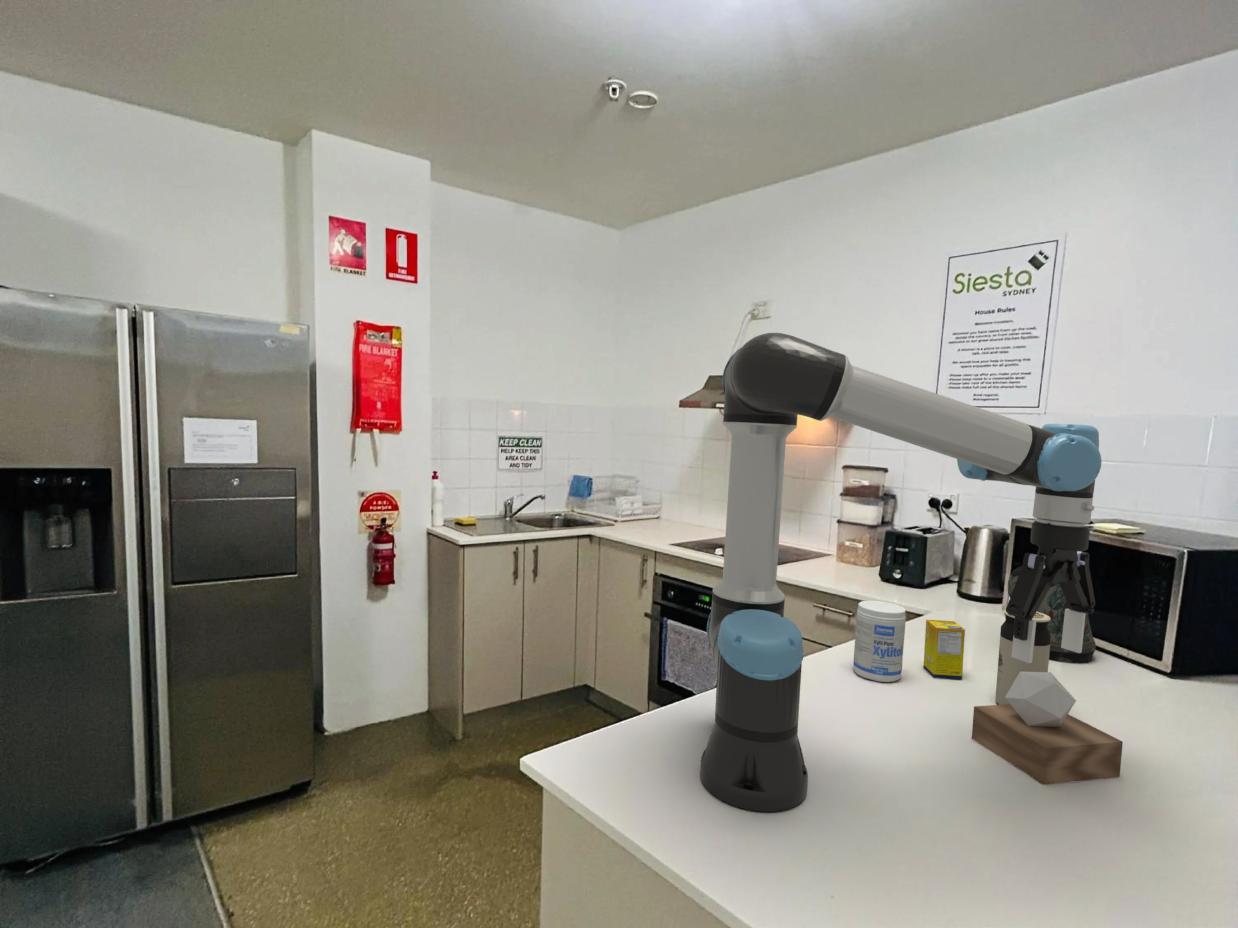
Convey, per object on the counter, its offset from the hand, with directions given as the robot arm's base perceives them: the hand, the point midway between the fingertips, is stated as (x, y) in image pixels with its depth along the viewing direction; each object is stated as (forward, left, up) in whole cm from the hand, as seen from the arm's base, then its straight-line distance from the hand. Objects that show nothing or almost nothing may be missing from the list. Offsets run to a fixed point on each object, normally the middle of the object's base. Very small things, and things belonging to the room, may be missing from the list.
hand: (1047, 654), depth 101 cm
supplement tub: (+3, +35, -17) cm, 39 cm away
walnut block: (0, 0, -17) cm, 17 cm away
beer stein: (+55, +29, -17) cm, 65 cm away
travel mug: (+16, +13, -17) cm, 27 cm away
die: (0, 0, -11) cm, 11 cm away
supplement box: (+17, +30, -17) cm, 38 cm away
